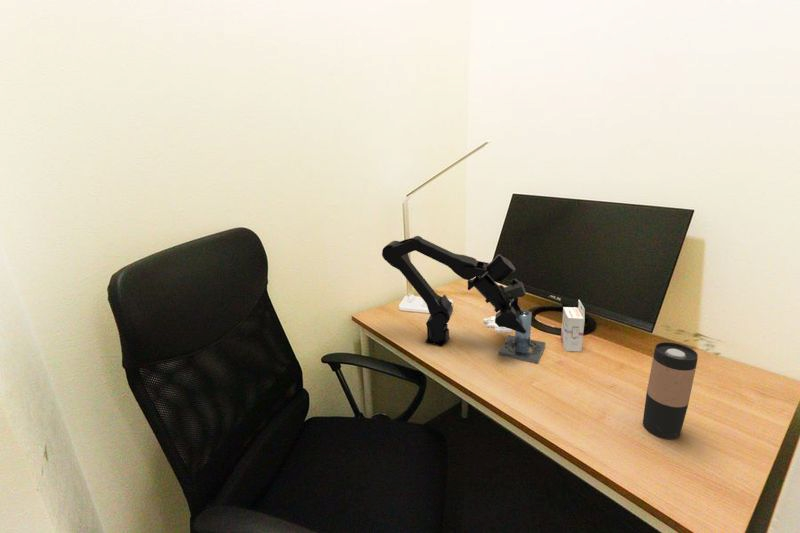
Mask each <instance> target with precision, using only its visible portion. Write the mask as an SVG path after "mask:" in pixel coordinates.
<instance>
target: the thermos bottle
mask: <svg viewBox="0 0 800 533" xmlns="http://www.w3.org/2000/svg"><path fill="white" fill-rule="evenodd" d="M532 315H533V314H532V312H531V311H530V310H528V309H525V308H523V309H522V308H521V310H518V311H517V319H518V320H519V322H520V323H521V324H522V326H523V327H524V329H525V330H526V333H524V334H523V333H520V332H517V331H515V330H514V336H515V346H514V349H513V350H515V351H517V352H522V353H528V352H531V351H530V349H531V347H530V339H531V332H532Z"/></svg>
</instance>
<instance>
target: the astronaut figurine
mask: <svg viewBox="0 0 800 533" xmlns="http://www.w3.org/2000/svg"><path fill="white" fill-rule="evenodd" d="M495 317H496V315H494V316H493V315H492V316H490V317H488V318H487V317H486V318H483V319H482V322H483V323H484V324H485V326H486V328H494V332H496V333H500V334H501V333H503V334H508V333H512V332H513V331H514V330H512V329H509V328H506V327H499V326H498V325H497V324H496V323H495Z"/></svg>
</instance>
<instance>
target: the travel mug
mask: <svg viewBox="0 0 800 533" xmlns="http://www.w3.org/2000/svg"><path fill="white" fill-rule="evenodd" d="M652 357H653V358H652V361H651V368H650V373H649V378H648V383H647V388H646V394H645V402H644V409H643V417H642V424H643V427H644V429H645V430H646V431H648V432H649V434H651V435H654V436H655V437H658V438H660V439H664V440H677V439H678V438H679V437H680V436H681V433H682V430H683V427H684V422H685V417H686V415H687V411H688V408H689V407H688V406H689V402H690V399H691V393H692V389H693V383H694V378H695V374H696V369H697V364H698V358H699V357H698V353H697V352H696V350H694V349H693V348H691V347H688V346H686V345H683V344H681V343H676V342H670V341H667V342H660V343H657V344H656V345H655V346H654V350H653V355H652Z"/></svg>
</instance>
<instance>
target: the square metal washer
mask: <svg viewBox="0 0 800 533" xmlns="http://www.w3.org/2000/svg"><path fill="white" fill-rule="evenodd" d="M513 347H515V335H511V334H508V335H507V337H506V338H505V340H504V341H503V344H501V346H500V348H499V349H498V351H497V355H498V356H501V357H506V358H511V359H514V360H518V361H524V362H527V363H532V364H537V365H538V364H539V362H540V359H541V358H542V355H543V353H544V350H545V347H546V342H544V341H540V340H534V339H531V338H530V349H532V350H531V351H529V352H528V353H522V352H517V351H515V350H514V349H513Z"/></svg>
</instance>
